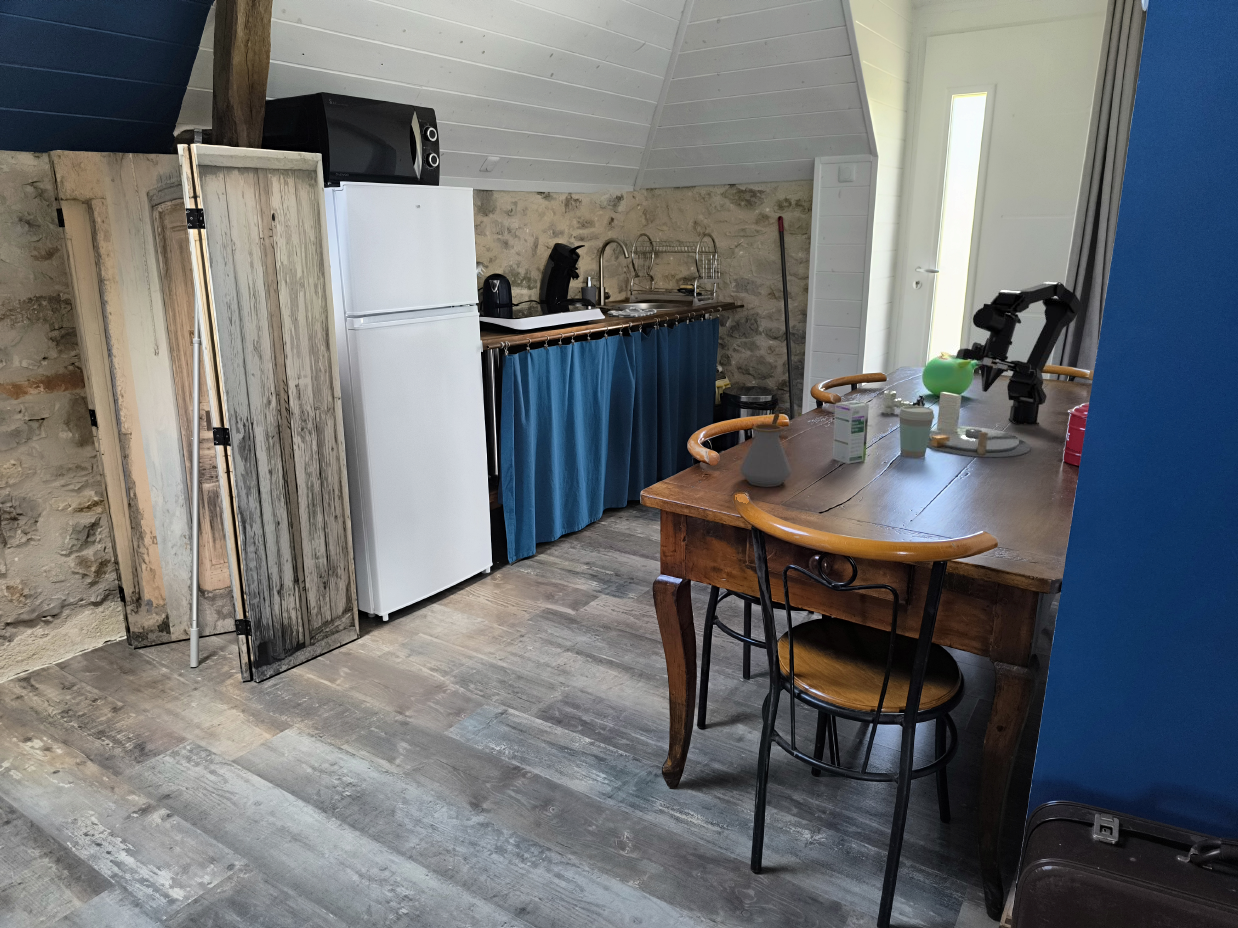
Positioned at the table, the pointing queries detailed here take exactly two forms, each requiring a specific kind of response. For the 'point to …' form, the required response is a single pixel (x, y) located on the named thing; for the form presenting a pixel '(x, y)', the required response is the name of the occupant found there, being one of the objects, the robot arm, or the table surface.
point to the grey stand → (965, 430)
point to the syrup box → (850, 431)
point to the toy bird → (948, 374)
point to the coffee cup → (915, 430)
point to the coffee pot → (766, 456)
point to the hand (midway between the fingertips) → (984, 391)
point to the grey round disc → (1020, 450)
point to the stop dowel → (982, 443)
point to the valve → (898, 402)
